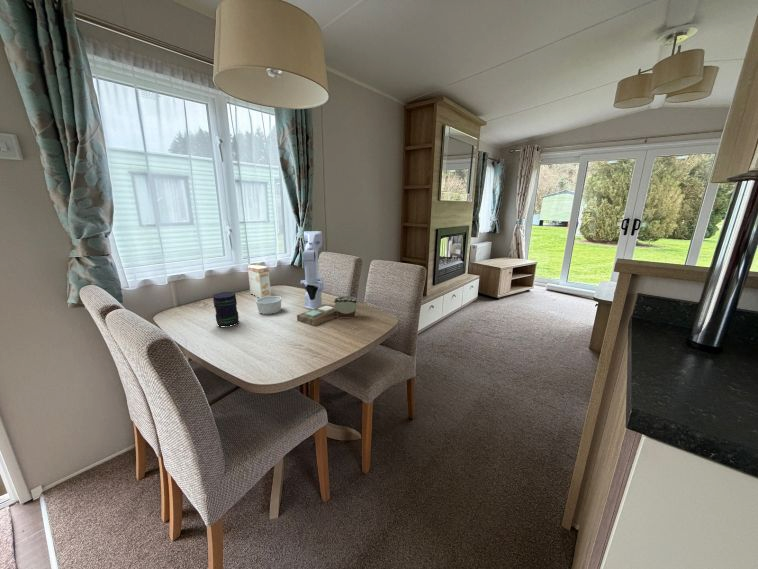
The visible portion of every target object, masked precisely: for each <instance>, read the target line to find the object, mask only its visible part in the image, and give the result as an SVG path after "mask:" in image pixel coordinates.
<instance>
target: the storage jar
mask: <svg viewBox="0 0 758 569" xmlns="http://www.w3.org/2000/svg"><path fill="white" fill-rule="evenodd" d="M236 297H237V296H236V292H234V291H225V292H218V293H214V294H213V295H212V298H213V307H214V308H215V309H214V310H215V321H216V323H217V324H218V325H219V326H230V325H234V324H236V323H238V322H239V323H240V320H239V312H238V308H237V304H238V302H237V298H236ZM239 323H238V324H239ZM217 324H216V325H217ZM234 326H235V325H234Z"/></svg>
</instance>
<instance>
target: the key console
mask: <svg viewBox="0 0 758 569" xmlns="http://www.w3.org/2000/svg"><path fill="white" fill-rule="evenodd" d="M323 305H324V306H330V307H334V310H331V311H329V312H322V311H319V310H318V308H321V307H324V306H321V307H318V308H315V309H310V310H308V311H304V312H302V313H299V314H296V321H297V322H300V323H303V324H306V325H309V326H312V327H315V326H317V325H320V324H321V323H324V322H327V321H329V320H331V319H332V320H333V319H334V318H335V317H336V318H337V312H336V306H332V305H327V304H323ZM312 310H315V311H319V312H322V314H321V315H319V316H316V317H314V318H312V317H309V316H306V315H305V313H307V312H310V311H312Z"/></svg>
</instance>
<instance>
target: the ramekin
mask: <svg viewBox="0 0 758 569" xmlns="http://www.w3.org/2000/svg"><path fill="white" fill-rule="evenodd" d="M282 302H283V301H282V297H281V296H279V295H271V296H266V297H261V298H257V299H256V300H255V303H256V306H257V310H258V313H260V314H261V313H262V315H273V314H272V313H274V314H277V313H279V312H280V311H281V310H282ZM276 312H277V313H276Z"/></svg>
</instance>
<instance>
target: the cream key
mask: <svg viewBox="0 0 758 569" xmlns="http://www.w3.org/2000/svg"><path fill="white" fill-rule="evenodd" d="M330 306H331V305H328V306H324V307H321V308H318V310H319V311H322V312H329V311H331V310H334V307H335V306H332V307H330Z"/></svg>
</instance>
